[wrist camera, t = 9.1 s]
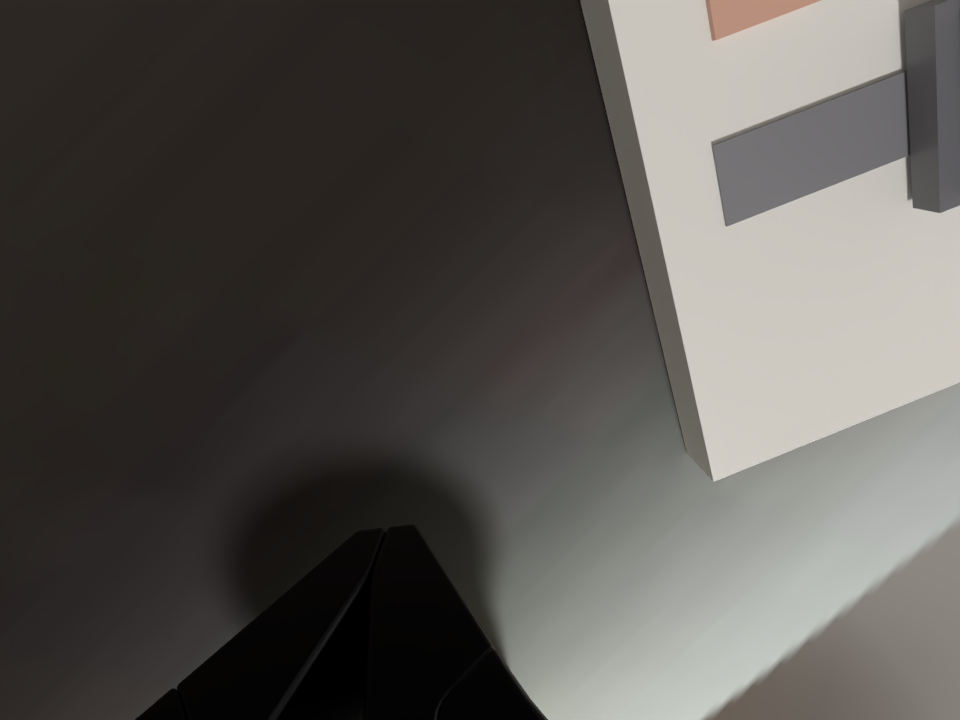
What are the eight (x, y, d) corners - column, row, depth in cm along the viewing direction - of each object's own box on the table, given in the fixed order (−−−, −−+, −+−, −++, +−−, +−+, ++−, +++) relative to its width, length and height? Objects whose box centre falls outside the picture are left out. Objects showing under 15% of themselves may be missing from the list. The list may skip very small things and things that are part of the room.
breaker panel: (686, 452, 24) (716, 485, 22) (537, -181, 16) (563, -220, 14) (1020, 318, 25) (1078, 338, 23) (1041, -363, 17) (1135, -426, 15)
